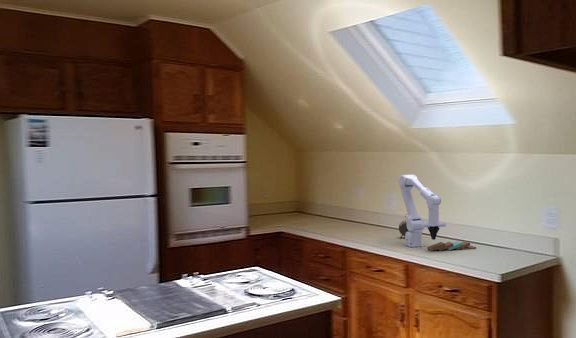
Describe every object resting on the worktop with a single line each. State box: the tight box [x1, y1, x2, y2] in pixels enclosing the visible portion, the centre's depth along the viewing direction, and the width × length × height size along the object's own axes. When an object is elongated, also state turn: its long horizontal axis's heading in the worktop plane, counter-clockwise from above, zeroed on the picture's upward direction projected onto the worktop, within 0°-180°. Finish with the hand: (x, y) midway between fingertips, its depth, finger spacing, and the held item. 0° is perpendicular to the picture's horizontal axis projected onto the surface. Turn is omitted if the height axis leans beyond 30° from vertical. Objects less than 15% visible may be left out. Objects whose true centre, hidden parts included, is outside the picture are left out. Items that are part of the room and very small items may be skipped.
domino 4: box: [460, 245, 477, 251], centre depth 298 cm, size 2×5×9 cm
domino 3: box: [454, 240, 471, 251], centre depth 297 cm, size 2×5×9 cm
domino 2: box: [436, 241, 454, 252], centre depth 295 cm, size 2×5×9 cm
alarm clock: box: [398, 213, 409, 239], centre depth 332 cm, size 11×5×16 cm, turn 90°
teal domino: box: [446, 240, 462, 251], centre depth 295 cm, size 2×5×9 cm
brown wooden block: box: [426, 241, 446, 252], centre depth 294 cm, size 2×5×9 cm
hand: (433, 239), depth 293 cm, fingers closed
